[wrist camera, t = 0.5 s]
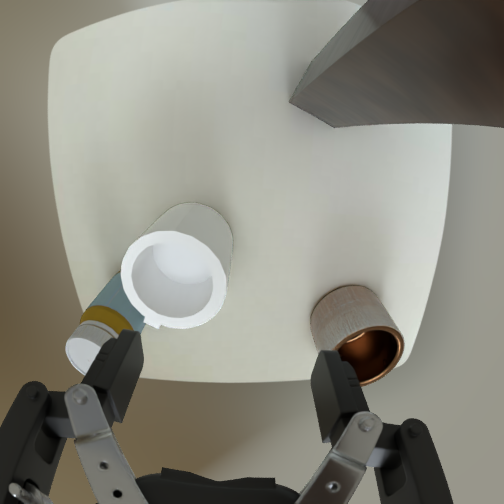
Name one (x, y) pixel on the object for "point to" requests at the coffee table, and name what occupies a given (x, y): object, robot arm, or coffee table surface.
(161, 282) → the mug
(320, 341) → the planter
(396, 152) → the coffee table surface
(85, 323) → the bottle
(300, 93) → the stand
